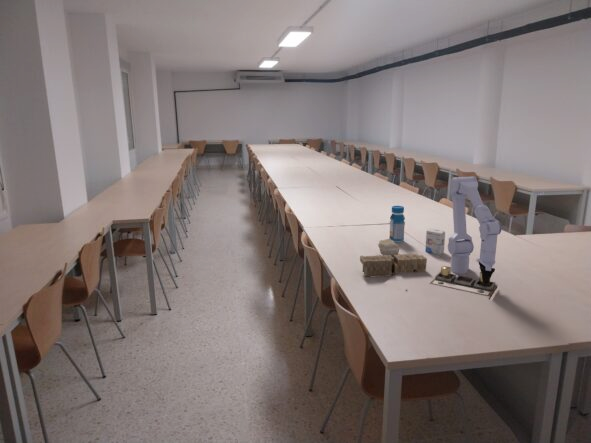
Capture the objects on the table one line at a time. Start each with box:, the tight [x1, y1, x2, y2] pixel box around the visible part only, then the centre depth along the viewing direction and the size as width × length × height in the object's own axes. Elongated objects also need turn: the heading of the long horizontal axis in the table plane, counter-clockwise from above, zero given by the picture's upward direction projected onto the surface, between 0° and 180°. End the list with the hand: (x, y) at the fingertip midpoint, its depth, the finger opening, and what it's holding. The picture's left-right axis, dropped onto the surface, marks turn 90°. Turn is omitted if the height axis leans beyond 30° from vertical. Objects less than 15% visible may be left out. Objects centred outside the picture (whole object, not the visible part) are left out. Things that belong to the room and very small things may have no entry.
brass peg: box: [478, 271, 491, 286], centre depth 174 cm, size 4×4×5 cm
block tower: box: [359, 253, 428, 277], centre depth 195 cm, size 8×8×29 cm
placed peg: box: [440, 265, 452, 279], centre depth 184 cm, size 4×4×5 cm
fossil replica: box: [377, 238, 400, 257], centre depth 220 cm, size 12×8×10 cm
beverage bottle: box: [388, 205, 406, 243], centre depth 242 cm, size 8×8×20 cm
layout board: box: [429, 271, 498, 300], centre depth 178 cm, size 14×24×3 cm, turn 54°
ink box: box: [424, 228, 446, 256], centre depth 222 cm, size 9×5×12 cm, turn 47°
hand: (485, 281), depth 175 cm, fingers closed on brass peg, 4 cm apart
